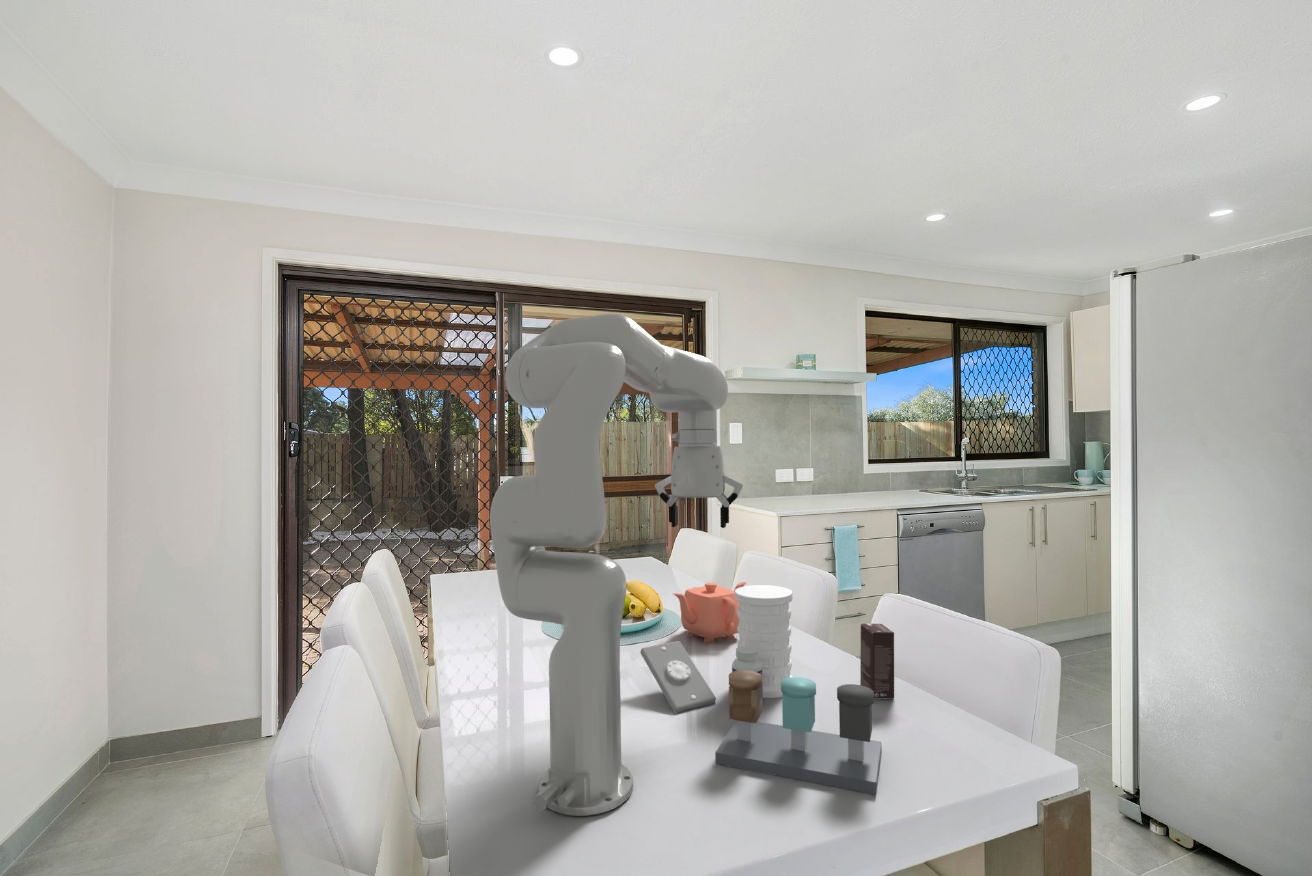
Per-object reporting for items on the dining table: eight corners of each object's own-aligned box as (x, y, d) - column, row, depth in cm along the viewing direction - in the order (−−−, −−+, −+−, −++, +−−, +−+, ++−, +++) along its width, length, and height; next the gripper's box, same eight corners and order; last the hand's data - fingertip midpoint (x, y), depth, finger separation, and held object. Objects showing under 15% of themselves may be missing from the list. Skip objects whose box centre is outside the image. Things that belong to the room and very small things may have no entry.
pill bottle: (738, 711, 108) (737, 655, 108) (728, 699, 113) (727, 645, 113) (767, 708, 109) (766, 652, 109) (756, 696, 114) (755, 643, 114)
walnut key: (758, 725, 92) (757, 684, 92) (725, 719, 94) (724, 679, 94) (765, 711, 96) (765, 672, 96) (734, 706, 98) (733, 668, 98)
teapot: (673, 644, 145) (672, 589, 145) (688, 624, 161) (688, 575, 161) (737, 649, 141) (736, 593, 141) (747, 628, 156) (746, 577, 157)
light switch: (677, 705, 107) (641, 644, 118) (669, 729, 109) (635, 667, 121) (718, 694, 111) (680, 636, 122) (710, 718, 114) (673, 659, 125)
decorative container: (754, 702, 111) (752, 601, 112) (723, 680, 122) (722, 588, 122) (808, 692, 116) (806, 594, 116) (774, 671, 127) (772, 582, 127)
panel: (876, 794, 82) (875, 745, 82) (715, 763, 90) (714, 719, 91) (881, 752, 93) (880, 709, 93) (737, 728, 102) (737, 688, 102)
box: (896, 699, 112) (895, 632, 112) (871, 700, 112) (870, 632, 112) (883, 686, 118) (881, 622, 118) (859, 687, 118) (858, 623, 118)
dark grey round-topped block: (873, 744, 85) (872, 700, 85) (835, 738, 87) (834, 695, 87) (875, 728, 90) (875, 687, 90) (839, 723, 92) (839, 682, 92)
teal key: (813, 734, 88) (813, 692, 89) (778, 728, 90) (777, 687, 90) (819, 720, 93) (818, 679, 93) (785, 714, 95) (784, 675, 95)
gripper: (650, 439, 121) (651, 528, 121) (740, 438, 117) (741, 530, 117) (659, 440, 128) (660, 523, 128) (743, 438, 124) (745, 525, 124)
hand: (698, 526), depth 122 cm, fingers open, 9 cm apart
